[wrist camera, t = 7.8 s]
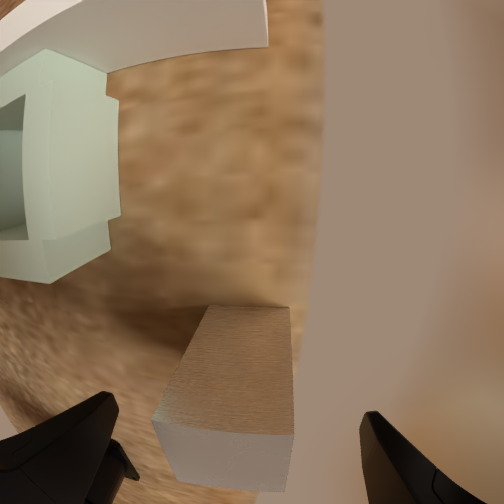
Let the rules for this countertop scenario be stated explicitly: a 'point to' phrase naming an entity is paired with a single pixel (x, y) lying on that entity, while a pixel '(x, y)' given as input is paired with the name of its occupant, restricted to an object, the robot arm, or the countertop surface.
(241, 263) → the countertop surface
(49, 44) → the backstop wall
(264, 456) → the grey square block
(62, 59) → the socket block
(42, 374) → the countertop surface
